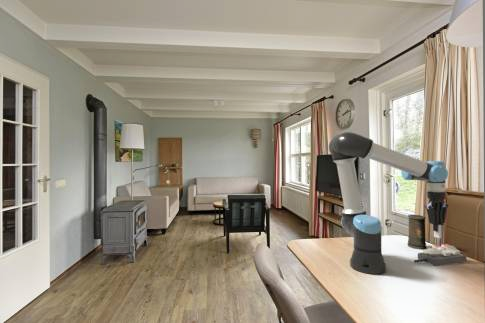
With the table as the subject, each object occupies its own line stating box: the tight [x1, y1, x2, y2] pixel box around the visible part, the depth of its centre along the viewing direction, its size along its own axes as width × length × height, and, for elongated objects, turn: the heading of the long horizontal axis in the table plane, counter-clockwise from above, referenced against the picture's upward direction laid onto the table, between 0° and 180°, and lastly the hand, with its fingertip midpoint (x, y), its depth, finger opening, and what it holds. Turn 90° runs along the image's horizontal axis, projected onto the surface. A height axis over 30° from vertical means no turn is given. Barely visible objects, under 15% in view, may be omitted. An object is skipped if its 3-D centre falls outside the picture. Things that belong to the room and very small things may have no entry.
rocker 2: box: [431, 244, 452, 256], centre depth 125 cm, size 4×7×3 cm, turn 15°
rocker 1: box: [422, 247, 442, 255], centre depth 123 cm, size 4×7×3 cm, turn 15°
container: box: [407, 214, 428, 250], centre depth 145 cm, size 9×9×18 cm
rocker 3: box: [440, 243, 461, 255], centre depth 126 cm, size 4×7×3 cm, turn 15°
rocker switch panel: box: [413, 252, 467, 267], centre depth 124 cm, size 27×9×3 cm, turn 105°
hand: (437, 237), depth 127 cm, fingers closed
